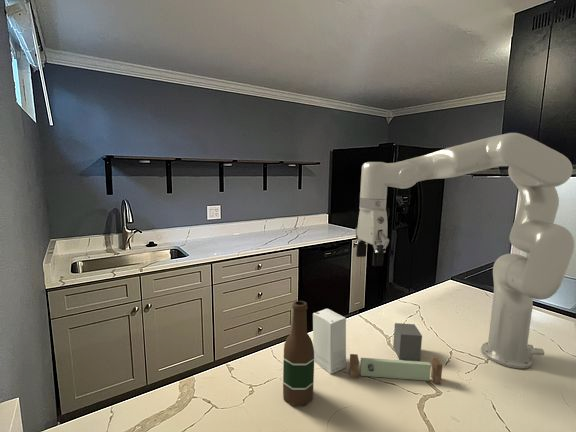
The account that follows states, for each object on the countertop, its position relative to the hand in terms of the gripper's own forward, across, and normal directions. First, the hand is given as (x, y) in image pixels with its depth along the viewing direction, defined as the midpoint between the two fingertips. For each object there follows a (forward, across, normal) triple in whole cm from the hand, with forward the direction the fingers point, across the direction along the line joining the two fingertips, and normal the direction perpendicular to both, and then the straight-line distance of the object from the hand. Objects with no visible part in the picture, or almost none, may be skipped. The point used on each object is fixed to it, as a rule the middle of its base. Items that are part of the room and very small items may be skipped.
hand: (369, 260), depth 93 cm
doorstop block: (+28, -6, -11) cm, 31 cm away
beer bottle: (+29, -15, +26) cm, 42 cm away
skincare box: (+29, -5, +14) cm, 32 cm away
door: (+28, -15, -1) cm, 32 cm away
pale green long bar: (+28, -15, -1) cm, 32 cm away
